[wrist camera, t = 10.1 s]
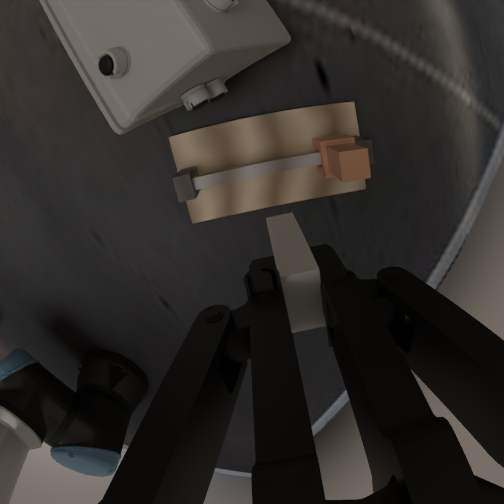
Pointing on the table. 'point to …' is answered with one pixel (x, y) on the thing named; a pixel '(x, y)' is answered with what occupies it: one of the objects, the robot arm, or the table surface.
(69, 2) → the junction box
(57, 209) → the table surface
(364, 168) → the brown stepped block
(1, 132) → the table surface
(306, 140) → the rail board
